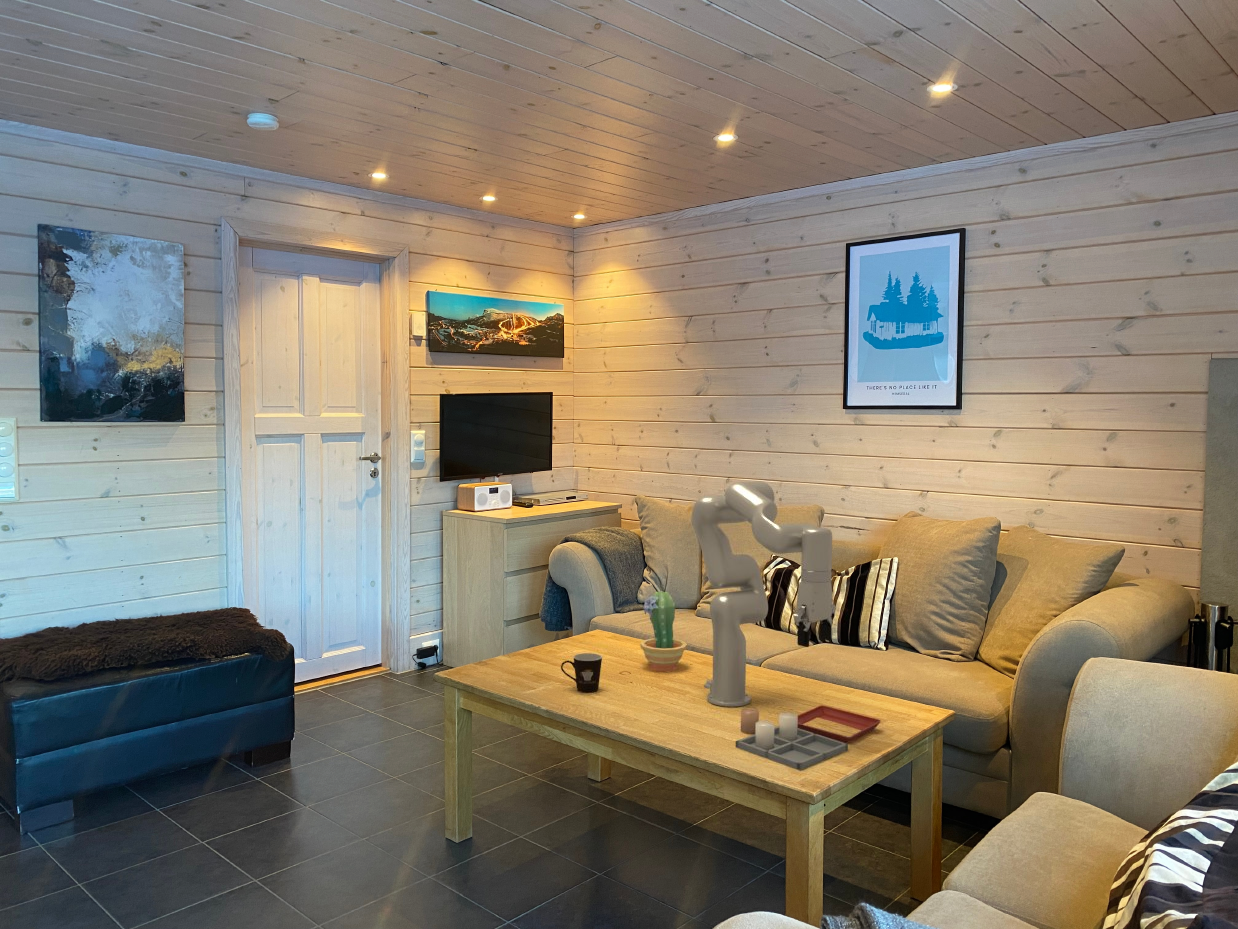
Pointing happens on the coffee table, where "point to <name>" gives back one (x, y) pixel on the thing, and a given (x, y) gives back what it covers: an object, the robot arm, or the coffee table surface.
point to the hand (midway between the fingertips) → (814, 642)
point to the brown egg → (749, 720)
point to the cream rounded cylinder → (788, 726)
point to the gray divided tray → (796, 749)
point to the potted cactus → (662, 634)
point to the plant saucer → (838, 717)
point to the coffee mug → (586, 671)
